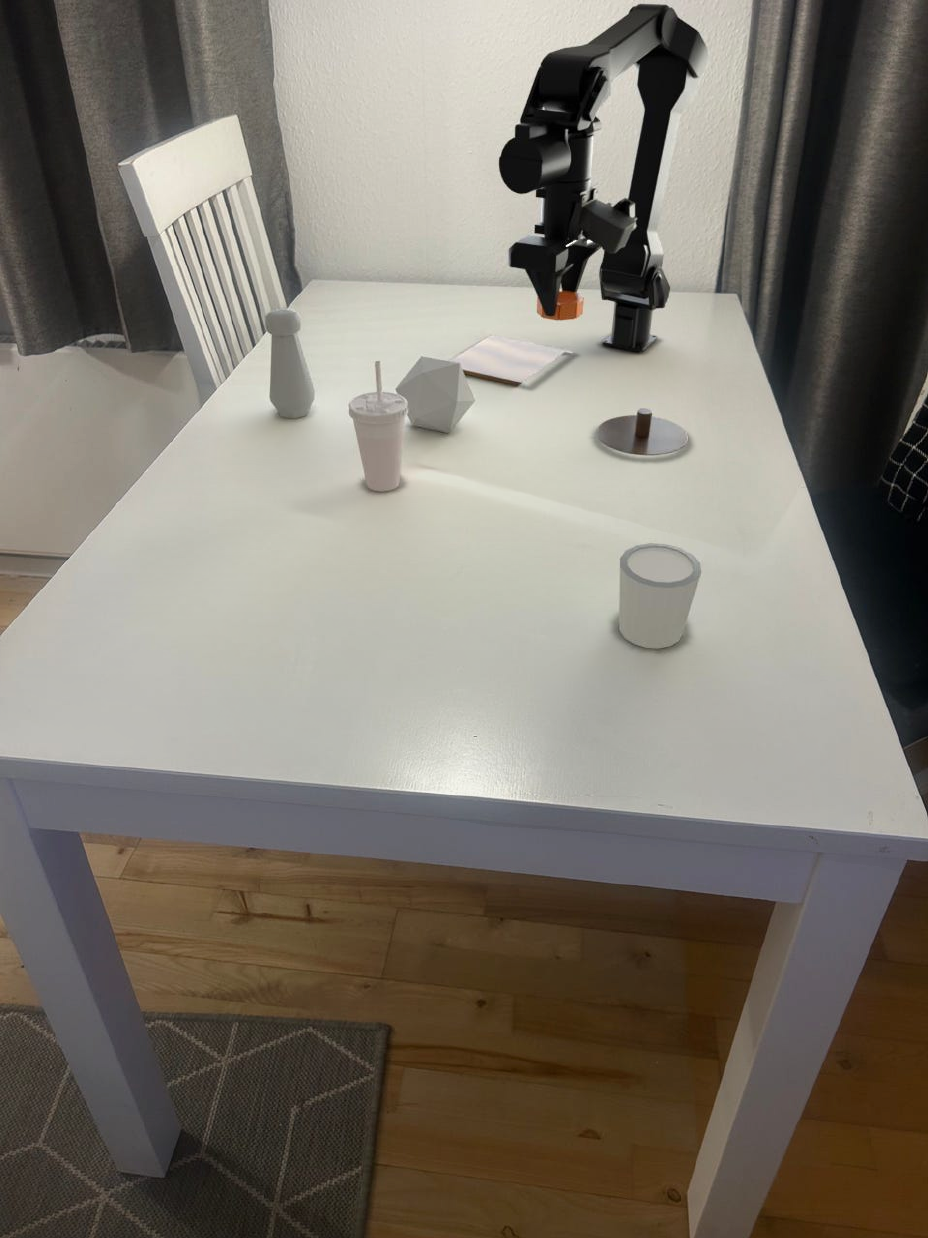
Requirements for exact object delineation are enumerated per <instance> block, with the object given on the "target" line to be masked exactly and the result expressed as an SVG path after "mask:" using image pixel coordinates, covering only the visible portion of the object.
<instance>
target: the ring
mask: <svg viewBox="0 0 928 1238" xmlns="http://www.w3.org/2000/svg"><path fill="white" fill-rule="evenodd" d="M584 301H585V300H584V297H583V295H581V294H580V293H579V292H577V293H576V292H570V291H564V290H562V289H560V290H559V296H558V301H557V306H556V311H555V315H554V316H553V317H551V316H547V315H546V314H545V312H544V310H543V308H542V305H541V303H540V301H539V298H538V296H537V299H536V313H537V314H538V315H539V316H540V318H543V319H546V320H552V321H557V322H558V321H569V320H575V319H578V318H579V317H580V316H582V315H583V313H584Z"/></svg>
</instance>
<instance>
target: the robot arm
mask: <svg viewBox="0 0 928 1238" xmlns="http://www.w3.org/2000/svg"><path fill="white" fill-rule="evenodd" d="M708 63H709V49H708V46H707V44H706V43H705V41H704V38H703V37H702V35H701V34H700V32H699V30H698V29H695V27H693V26H692V25H690V24H689V23H687V22H686V21H684V20H683V19H682V18H680V17H679V16H678V14H677V13H676V10H675V9H674V8H673V7H670V6H669V5H668V4H661V3H659V4H658V3H656V4H655V3H638V4H637V5H634V6H632V7H631V8H630V9H629V11H628V13H627V14H626V15H624V16H623V17H622V18H621V19H619V20H618V21H616V22H614V24H612V25H611V26H609V27H608V28H607V29H606V30H603V32H601V33H600V34H599V35H597V36H596V37H594V38H593V39H592V40H590V41H589V42H588V43H585V44H583V45H576V46H570V47H562V48H559V49H557V50H554V51H551V52H548V53H547V54H546V55H545V56H544V57H543V59H542V61H541V62H540V65H539V67H538V69H537V72H536V74H535V77H534V79H533V82H532V85H531V88H530V90H529V93H528V95H527V99H526V102H525V105H524V107H523V109H522V114H521V115H520V119H519V122H520V123H517V124H515V126H514V137H512V138H510V139H509V140H508V141H507V142H506V143H505V144H504V146H503V148H502V150H501V153H500V156H499V157H498V171H499V174H500V178H501V179H502V181H503V183H504V185H505V187H507V189H509V190H510V191H511V192H513V193H515V194H519V195H524V194H529V193H532V192H534V191H535V198H539V199H541V208H540V209H541V213H540V221H539V222H537V223H535V224H534V230H533V231H534V233H533V234H535V235H532V234H531V235H530V234H529V235H528V234H527V235H526V236H524V237H522V238H520V239H518V240H517V241H515V242H514V243H513V244H512V245H511V246H510V247H509V248H508V256H507V257H508V259H507V260H508V267H510V268H514V269H521V270H524V271H525V273H526V275H527V276H528V279H529V280H530V282H531V285H532V286H533V289H534V291H535V294H536V296H537V297H538V298H539V301H540V303H541V305H542V308H543V310H544V312H545V314H546V315H547V316H551V317H553V316H554V315H555V311H556V306H557V301H558V296H559V290H561V291H562V290H564V291H570V292H576V293H578V291H579V290H578V289H579V287H580V285H581V281H582V278H583V275H584V272H585V270H586V266H587V264H588V261H589V259H590V258H591V257H592V256H593V255H594V254H595V253H597V252H598V251H599V250H600V249H602V250H603V257H602V261H601V262H600V263H601V264H600V266H599V270H598V271H599V272H598V277H599V278H598V279H599V285H600V286H599V287H600V297H601V300H602V301H610V302H614V303H613V312H612V326H611V334H609V335H608V336H607V337H606V338H604V339H603V340H602V342H601V344H602V346H603V345H604V346H606V347H607V346H608V347H611V348H617V349H623V350H627V351H633V352H638V353H642V352H644V351H646V350H647V349H648V348H649V347H650V346H651V345H653V344H654V343H655V342H656V341H657V340H658V335H655V334H651V329H652V322H653V321H652V320H653V314H654V313H653V312H654V311H655V310H657V309H664V308H666V304H667V302H668V299H669V297H670V292H671V285H670V283H669V281H668V278H667V276H666V274H665V272H664V269H663V263H664V255H665V253H664V249H663V246H662V243H661V240H660V238H659V234H658V229H659V228H658V227H659V223H660V217H661V213H662V207H663V203H664V198H665V194H666V188H667V183H668V178H669V173H670V170H671V164H672V158H673V155H674V154H673V153H674V149H675V144H676V140H677V139H676V138H677V134H678V129H679V126H680V125H679V124H680V119H681V116H682V114H683V113H684V111H685V110H686V109H687V107H688V106H689V105H690V103H692V101H693V100H694V99H695V97H697V94H698V92H699V89H700V85H701V82H702V79H703V76H704V75H705V73H706V70H707V69H708V68H707V67H708ZM632 66H635V67H636V69H637V79H636V88H637V91H638V95H639V97H640V100H641V104H642V108H643V115H642V120H641V126H640V130H639V135H638V141H637V147H636V152H635V157H634V163H633V168H632V173H631V179H630V184H629V189H628V193H627V194H628V195H627V198H626V197H624V198H622V199H620V200H619V201H618V202H616V203H615V204H614V205H613V203H612V202H608V203H605V202H604V201H602V200H599V188H597V184H593V183H592V168H593V156H594V154H593V153H594V138H595V132H597V131H600V130H601V129H602V128H603V123H602V121H601V119H600V118H599V117H598V116H597V113H598V112H599V110H600V108H602V106H603V105H604V104H605V103H606V101H607V100H608V99H609V98H610V96H612V83H613V82H614V81H615V80H616V79H618V77H620V76H621V75H622V74H624V73H625V72H626V71H628V70H629V69H630V68H631V67H632ZM612 205H613V206H612ZM538 235H543V236H538ZM560 288H561V289H560Z"/></svg>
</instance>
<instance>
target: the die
mask: <svg viewBox="0 0 928 1238" xmlns="http://www.w3.org/2000/svg"><path fill="white" fill-rule="evenodd" d="M395 392H396V394H398V395H400V396H402V397H404V398H405V399H406V400H407V405H408V413H407V415H406V416H407V418H408V420H409V423H410V424H411V426H412V427H417V428H420V429H421V428H422V429H426V430H431V431H434V432H435V431H436V432H441V433H444V434H451V432H452V431H453V430H454V428H455V427H456V426H457V424H458V423H459V422H460V421H461V420H462V418H463V417H464V416H465V414H466V413H467V412H468V411H469V409H470V408H471V407H472V406H473V405H474V403H475V402H476V400H475V398H474V395H473V393H472V390H471V387H470V385H469V383H468V381H467V378H466V374H464V373H463V370H462V368H461V365H460V363H456V362H450V360H445V359H439V358H433V357H428V356H420V357H419V359H418V360H417V361H416V362H415V364H414V365H413V366H412V367H411V369H410V370H409V371H408V372H407V374H406V375H405V376H404V377H403V379H402V380H401V381H400V382H399V384H398V385H397V386H396V387H395Z"/></svg>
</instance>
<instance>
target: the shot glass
mask: <svg viewBox="0 0 928 1238" xmlns="http://www.w3.org/2000/svg"><path fill="white" fill-rule="evenodd" d="M701 574H702V566H701V562H700V561H699V560H698V559H697V558H696V557H695V556H694V554H692V553H691V552H688V551H687V550H685V549H683V548H681V547H678V546H674V545H671V544H666V543H652V542H650V543H644V544H638V545H634V546H633V547H630V548H628V549H626V550H624V552H623V553H622V555H621V556H620V558H619V594H618V595H619V596H618V597H619V604H618V605H619V607H618V610H619V611H618V612H619V613H618V622H619V623H618V627H619V628H618V629H619V632H620V634H621V635H622V637H623V638H624V639H625V640H626V641H628V642H630V643H631V644H633V645H635V646H639V647H641V648H644V649H653V650H654V649H655V650H656V649H657V650H659V649H665V648H670V647H672V646H674V645H675V644H677V643H679V641H680V640H681V638H682V637H683V634H684V630H685V628H686V625H687V622H688V621H687V620H688V619H689V615H690V611H691V608H692V604H693V601H694V598H695V594H696V591H697V588H698V584H699V581H700V578H701Z"/></svg>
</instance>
